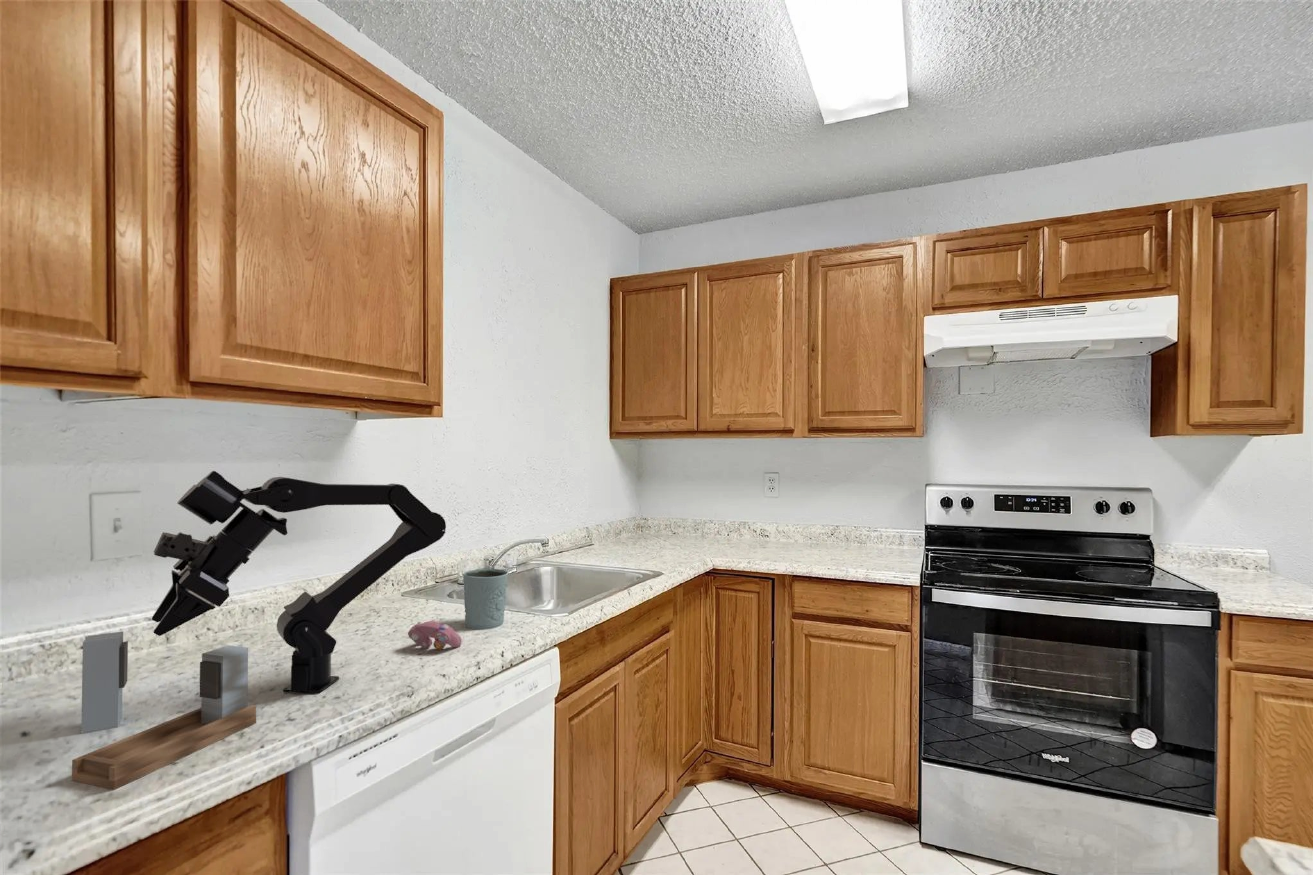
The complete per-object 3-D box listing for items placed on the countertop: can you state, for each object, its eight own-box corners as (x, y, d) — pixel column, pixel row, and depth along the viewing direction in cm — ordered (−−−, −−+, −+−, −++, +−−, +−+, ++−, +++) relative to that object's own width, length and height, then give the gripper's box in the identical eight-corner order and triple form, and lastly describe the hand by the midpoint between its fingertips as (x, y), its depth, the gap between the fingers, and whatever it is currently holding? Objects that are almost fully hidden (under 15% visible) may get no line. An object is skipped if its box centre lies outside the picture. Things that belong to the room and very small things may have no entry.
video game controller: (411, 655, 129) (401, 628, 126) (423, 639, 133) (414, 613, 130) (454, 658, 126) (445, 632, 123) (465, 642, 130) (457, 616, 127)
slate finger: (127, 716, 96) (128, 630, 96) (123, 725, 92) (124, 637, 93) (86, 723, 93) (88, 635, 93) (81, 733, 90) (82, 642, 90)
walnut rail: (218, 716, 95) (219, 644, 96) (256, 722, 93) (257, 648, 94) (71, 780, 77) (73, 690, 77) (114, 789, 75) (116, 697, 75)
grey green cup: (460, 620, 149) (461, 570, 149) (504, 616, 153) (504, 567, 153) (465, 632, 139) (465, 578, 139) (511, 627, 143) (511, 574, 143)
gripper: (185, 507, 104) (103, 587, 97) (194, 516, 90) (99, 611, 83) (245, 545, 110) (171, 624, 103) (263, 560, 95) (178, 652, 89)
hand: (155, 627), depth 94 cm, fingers open, 9 cm apart
